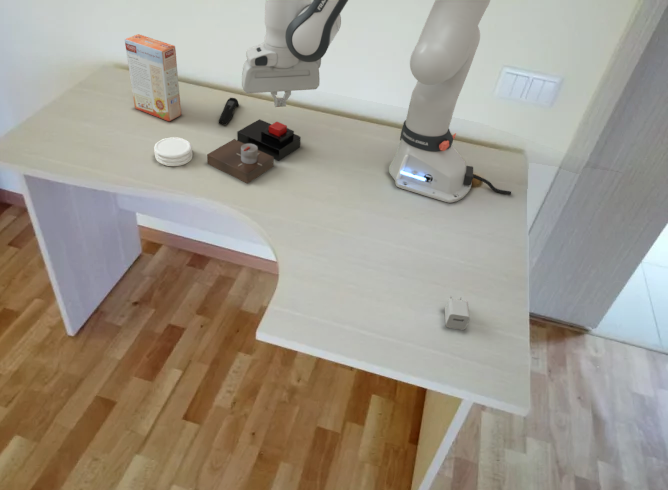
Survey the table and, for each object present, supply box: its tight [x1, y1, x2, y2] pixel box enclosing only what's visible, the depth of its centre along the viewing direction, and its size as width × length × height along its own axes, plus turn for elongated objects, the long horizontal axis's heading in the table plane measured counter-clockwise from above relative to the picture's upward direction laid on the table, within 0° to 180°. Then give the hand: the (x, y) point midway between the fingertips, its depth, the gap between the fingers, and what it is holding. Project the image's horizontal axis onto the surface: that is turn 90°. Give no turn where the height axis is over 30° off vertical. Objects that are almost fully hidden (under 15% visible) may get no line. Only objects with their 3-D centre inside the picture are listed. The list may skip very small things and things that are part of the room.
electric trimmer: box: [217, 97, 239, 126], centre depth 163 cm, size 4×16×3 cm, turn 171°
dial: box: [241, 144, 258, 164], centre depth 140 cm, size 4×4×4 cm
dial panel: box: [206, 138, 275, 184], centre depth 144 cm, size 14×11×3 cm
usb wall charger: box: [444, 295, 471, 331], centre depth 108 cm, size 4×7×4 cm, turn 171°
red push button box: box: [236, 119, 302, 162], centre depth 151 cm, size 15×10×6 cm, turn 54°
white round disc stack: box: [153, 136, 194, 167], centre depth 144 cm, size 10×10×4 cm
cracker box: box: [124, 34, 182, 122], centre depth 156 cm, size 14×6×21 cm, turn 58°
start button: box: [269, 121, 288, 136], centre depth 148 cm, size 4×4×2 cm
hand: (280, 105), depth 143 cm, fingers closed
